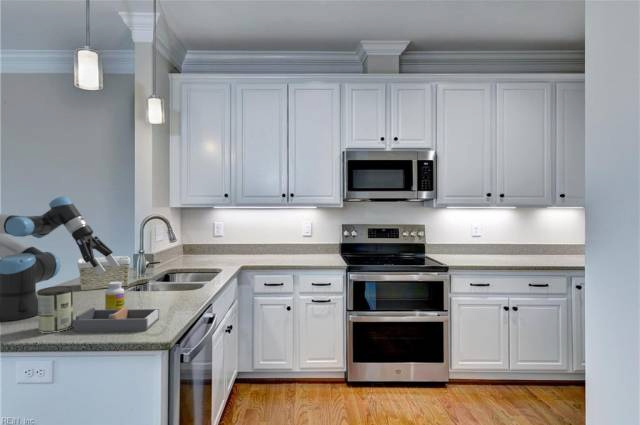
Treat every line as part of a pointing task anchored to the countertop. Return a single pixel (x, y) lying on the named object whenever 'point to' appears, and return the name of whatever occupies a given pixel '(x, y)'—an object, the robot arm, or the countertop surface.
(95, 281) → the storage basket
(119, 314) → the lane pusher
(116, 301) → the supplement bottle
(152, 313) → the grey shallow box
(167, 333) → the countertop surface
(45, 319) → the coffee can
